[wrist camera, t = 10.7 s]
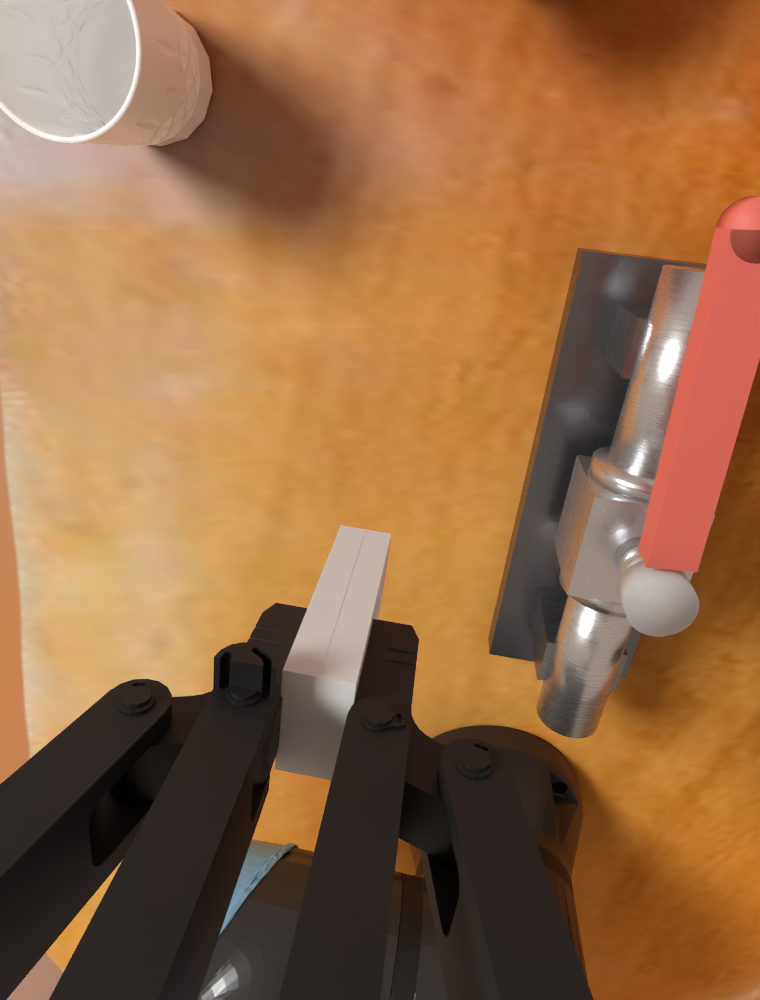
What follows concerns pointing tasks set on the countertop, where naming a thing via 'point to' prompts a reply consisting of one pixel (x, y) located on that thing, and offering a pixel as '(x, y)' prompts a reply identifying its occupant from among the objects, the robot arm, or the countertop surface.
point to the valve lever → (700, 428)
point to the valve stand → (593, 480)
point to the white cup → (102, 71)
